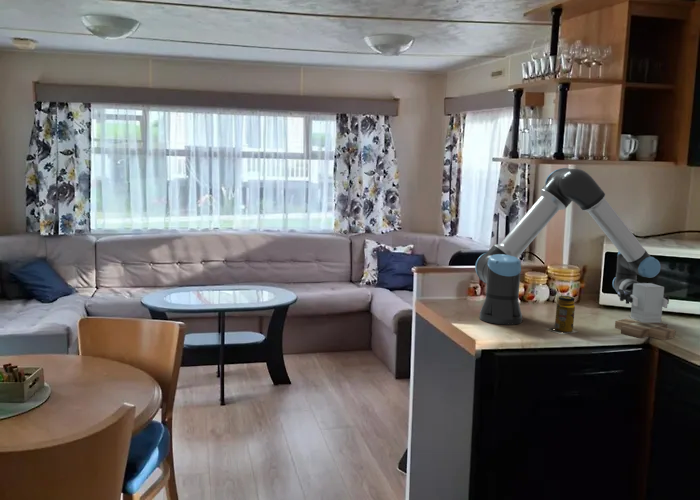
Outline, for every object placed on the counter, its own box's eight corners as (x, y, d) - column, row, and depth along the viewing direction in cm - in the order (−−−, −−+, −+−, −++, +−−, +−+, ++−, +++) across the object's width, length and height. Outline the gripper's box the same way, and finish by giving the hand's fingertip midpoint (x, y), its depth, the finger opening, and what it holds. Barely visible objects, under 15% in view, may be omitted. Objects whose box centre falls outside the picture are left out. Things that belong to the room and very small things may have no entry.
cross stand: (655, 342, 215) (656, 334, 214) (606, 329, 229) (606, 322, 229) (682, 335, 226) (683, 327, 225) (633, 323, 240) (634, 316, 239)
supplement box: (661, 322, 224) (665, 286, 222) (642, 323, 222) (645, 286, 221) (648, 317, 231) (651, 282, 229) (629, 317, 230) (632, 282, 228)
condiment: (578, 332, 225) (581, 298, 223) (562, 334, 220) (565, 300, 218) (561, 327, 231) (563, 294, 229) (545, 329, 226) (547, 296, 224)
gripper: (661, 302, 242) (683, 316, 220) (601, 298, 245) (617, 312, 223) (663, 282, 241) (686, 294, 219) (603, 279, 244) (619, 290, 222)
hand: (651, 303), depth 221 cm, fingers closed on supplement box, 9 cm apart
